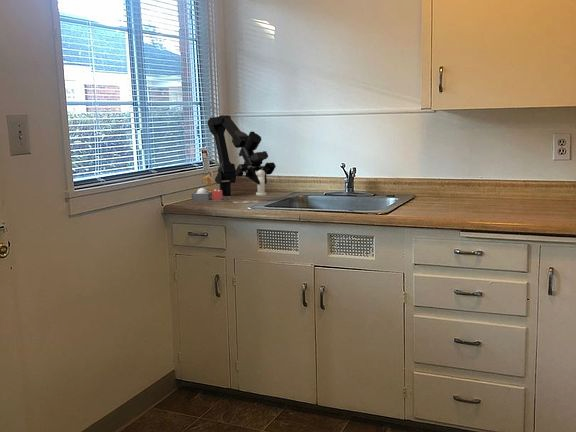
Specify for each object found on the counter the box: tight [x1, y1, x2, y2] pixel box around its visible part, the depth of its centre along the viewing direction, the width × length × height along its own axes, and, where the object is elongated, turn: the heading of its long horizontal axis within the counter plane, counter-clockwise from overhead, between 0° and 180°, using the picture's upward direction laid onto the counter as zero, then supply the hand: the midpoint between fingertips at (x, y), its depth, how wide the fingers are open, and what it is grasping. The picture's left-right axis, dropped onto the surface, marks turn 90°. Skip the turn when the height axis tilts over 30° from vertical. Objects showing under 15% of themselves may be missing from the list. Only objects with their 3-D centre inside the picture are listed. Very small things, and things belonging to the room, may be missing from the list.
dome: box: [195, 187, 209, 194], centre depth 289 cm, size 6×6×5 cm
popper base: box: [190, 189, 229, 205], centre depth 289 cm, size 9×15×6 cm, turn 86°
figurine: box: [201, 173, 218, 192], centre depth 299 cm, size 8×6×12 cm
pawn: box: [255, 170, 267, 197], centre depth 285 cm, size 5×5×11 cm
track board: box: [233, 199, 267, 204], centre depth 284 cm, size 16×6×1 cm, turn 116°
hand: (262, 183), depth 284 cm, fingers closed on pawn, 3 cm apart
